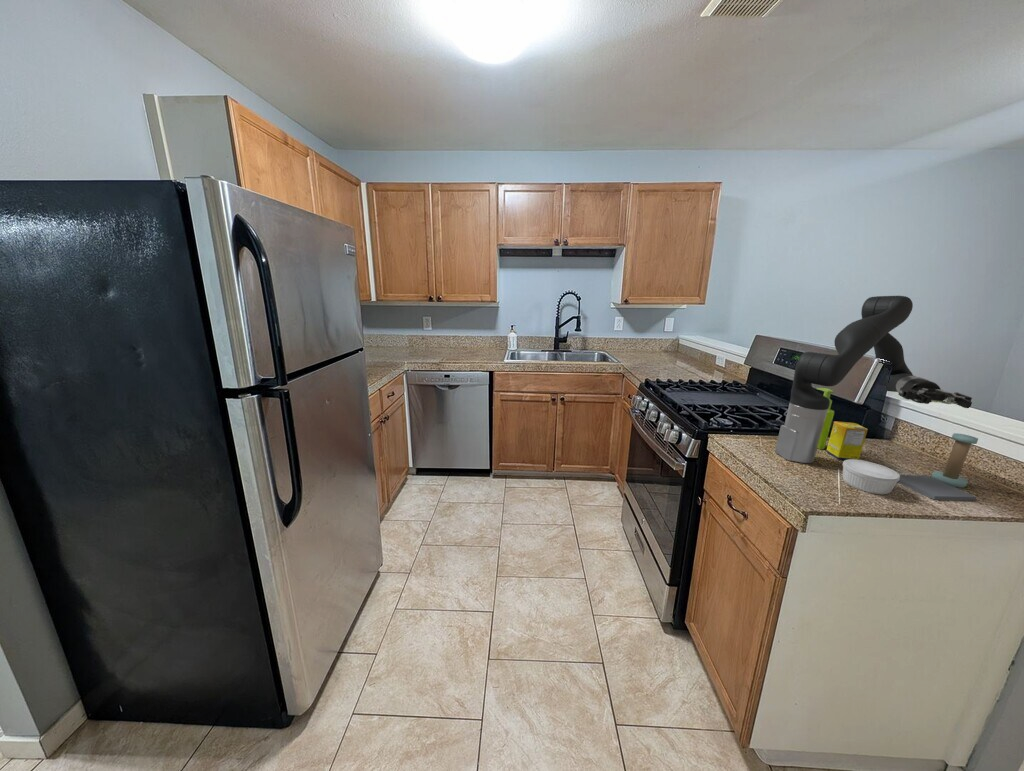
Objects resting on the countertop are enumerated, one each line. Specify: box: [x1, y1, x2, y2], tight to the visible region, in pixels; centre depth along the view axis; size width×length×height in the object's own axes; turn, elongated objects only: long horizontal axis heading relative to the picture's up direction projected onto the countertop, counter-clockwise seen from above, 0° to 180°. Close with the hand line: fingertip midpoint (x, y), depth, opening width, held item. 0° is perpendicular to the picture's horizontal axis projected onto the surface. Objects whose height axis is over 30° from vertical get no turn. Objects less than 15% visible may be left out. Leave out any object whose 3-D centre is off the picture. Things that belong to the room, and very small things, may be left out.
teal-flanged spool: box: [930, 432, 979, 489], centre depth 100 cm, size 6×6×14 cm
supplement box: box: [825, 420, 868, 461], centre depth 114 cm, size 6×6×11 cm
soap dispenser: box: [816, 387, 835, 450], centre depth 122 cm, size 6×7×20 cm
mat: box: [897, 474, 977, 501], centre depth 97 cm, size 11×11×1 cm
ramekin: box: [842, 459, 901, 495], centre depth 97 cm, size 11×11×5 cm
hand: (948, 402), depth 106 cm, fingers open, 8 cm apart
